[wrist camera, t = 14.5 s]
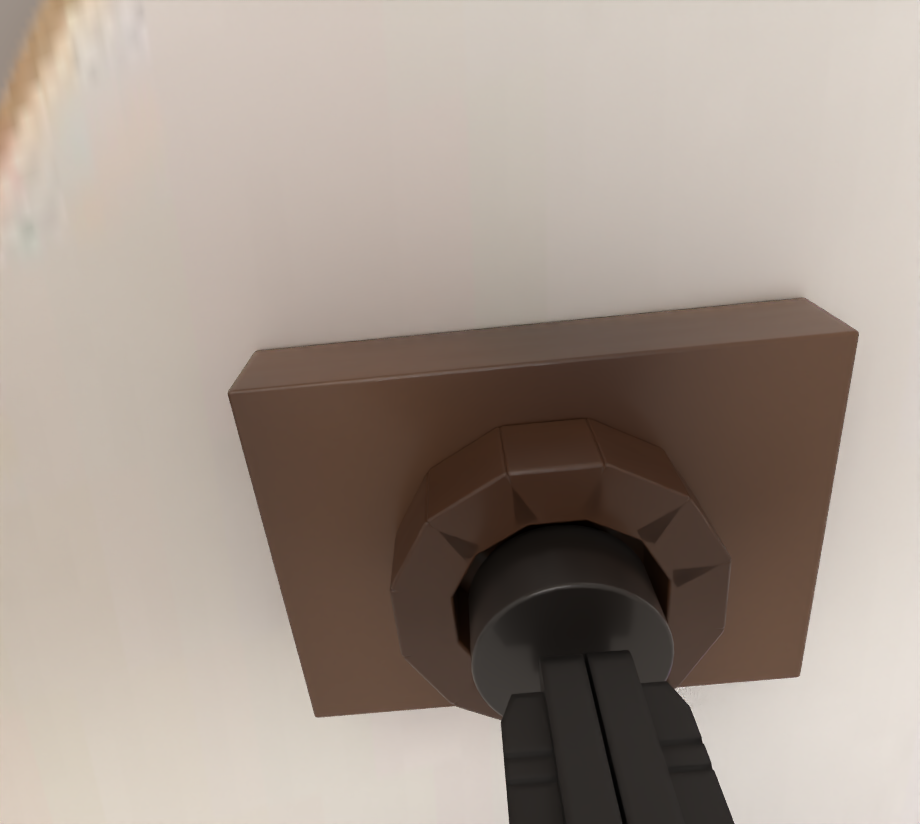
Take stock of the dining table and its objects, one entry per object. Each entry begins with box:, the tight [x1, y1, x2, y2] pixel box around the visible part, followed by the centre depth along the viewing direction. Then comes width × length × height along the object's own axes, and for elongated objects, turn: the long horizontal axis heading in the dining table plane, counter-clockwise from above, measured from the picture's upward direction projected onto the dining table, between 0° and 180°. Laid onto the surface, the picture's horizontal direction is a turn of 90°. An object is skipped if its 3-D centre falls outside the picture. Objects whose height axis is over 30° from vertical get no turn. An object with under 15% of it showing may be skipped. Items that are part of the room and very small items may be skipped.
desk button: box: [468, 525, 674, 717], centre depth 13 cm, size 4×4×2 cm
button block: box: [228, 298, 859, 720], centre depth 15 cm, size 12×9×4 cm
